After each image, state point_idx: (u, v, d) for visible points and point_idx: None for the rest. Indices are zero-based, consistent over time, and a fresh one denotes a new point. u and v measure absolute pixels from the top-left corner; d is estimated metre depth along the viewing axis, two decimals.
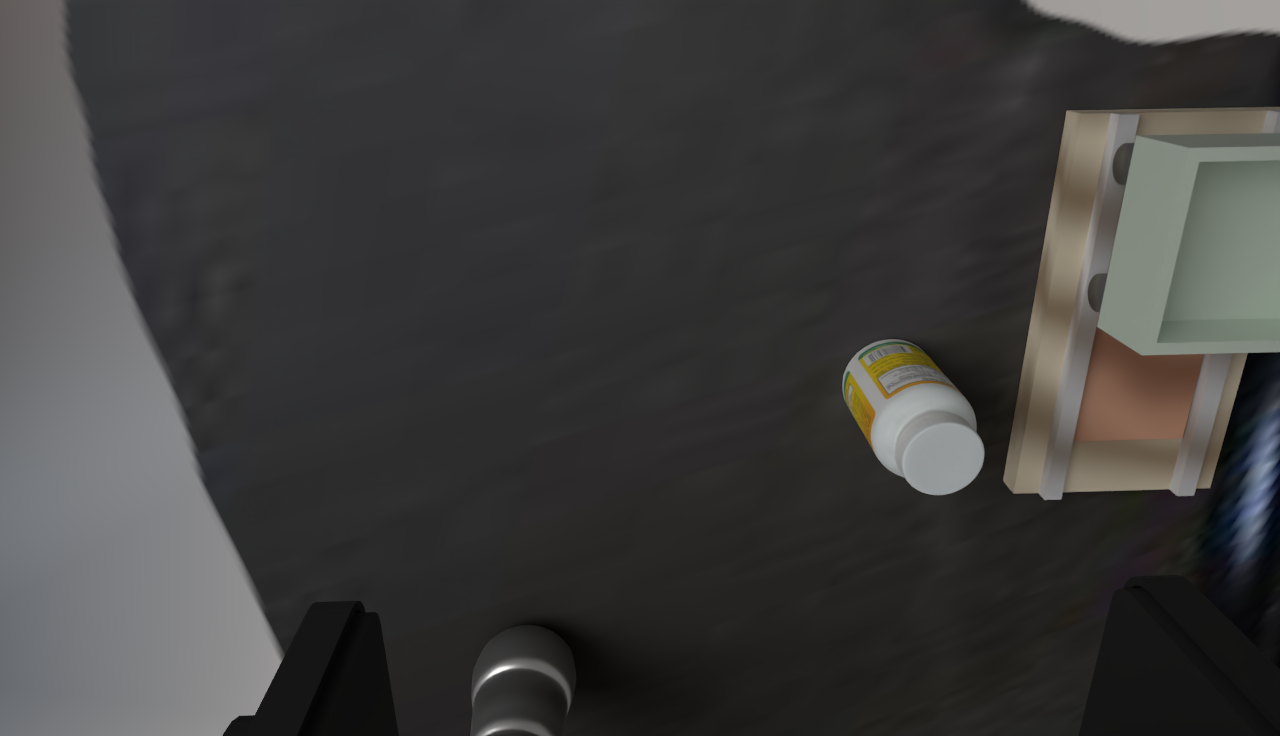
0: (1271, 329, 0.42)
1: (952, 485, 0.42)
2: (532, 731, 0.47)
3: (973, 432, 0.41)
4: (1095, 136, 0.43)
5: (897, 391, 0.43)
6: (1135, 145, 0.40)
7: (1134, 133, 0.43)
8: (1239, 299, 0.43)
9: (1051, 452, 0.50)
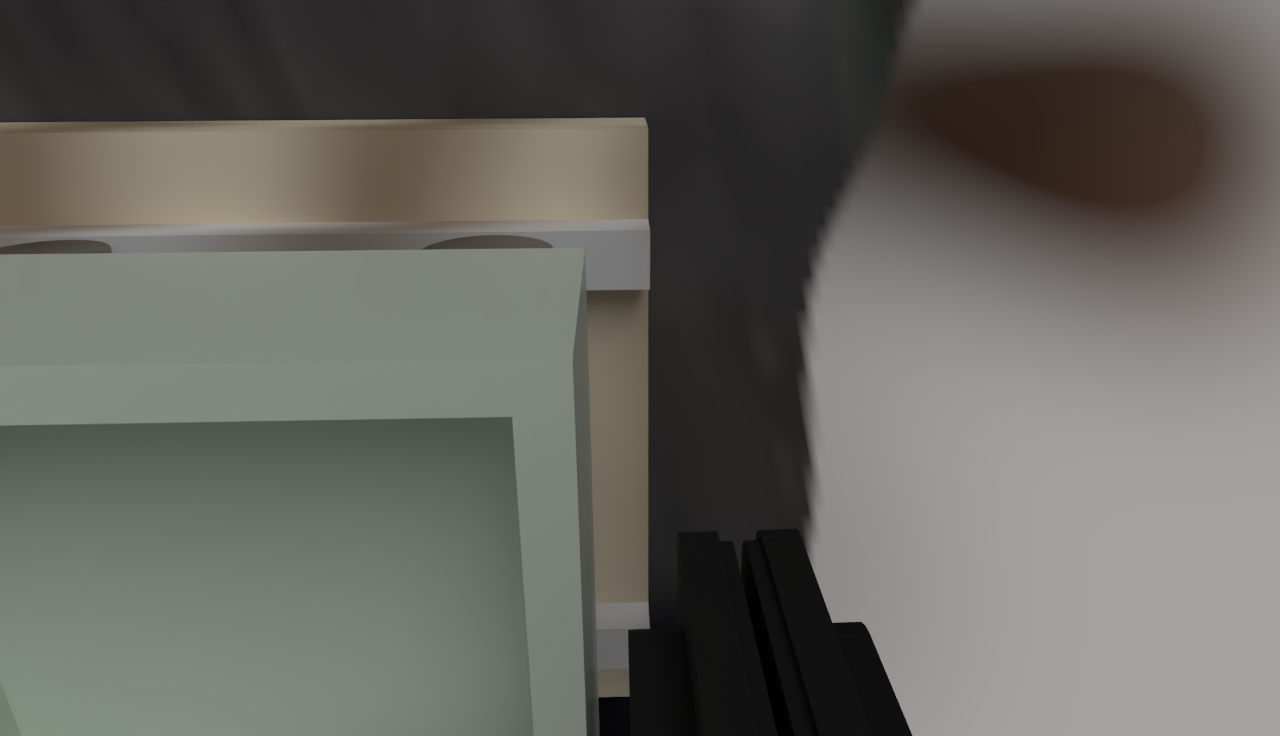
0: None
1: None
2: None
3: None
4: (580, 186, 0.14)
5: None
6: (551, 250, 0.12)
7: (595, 286, 0.14)
8: (69, 680, 0.13)
9: None
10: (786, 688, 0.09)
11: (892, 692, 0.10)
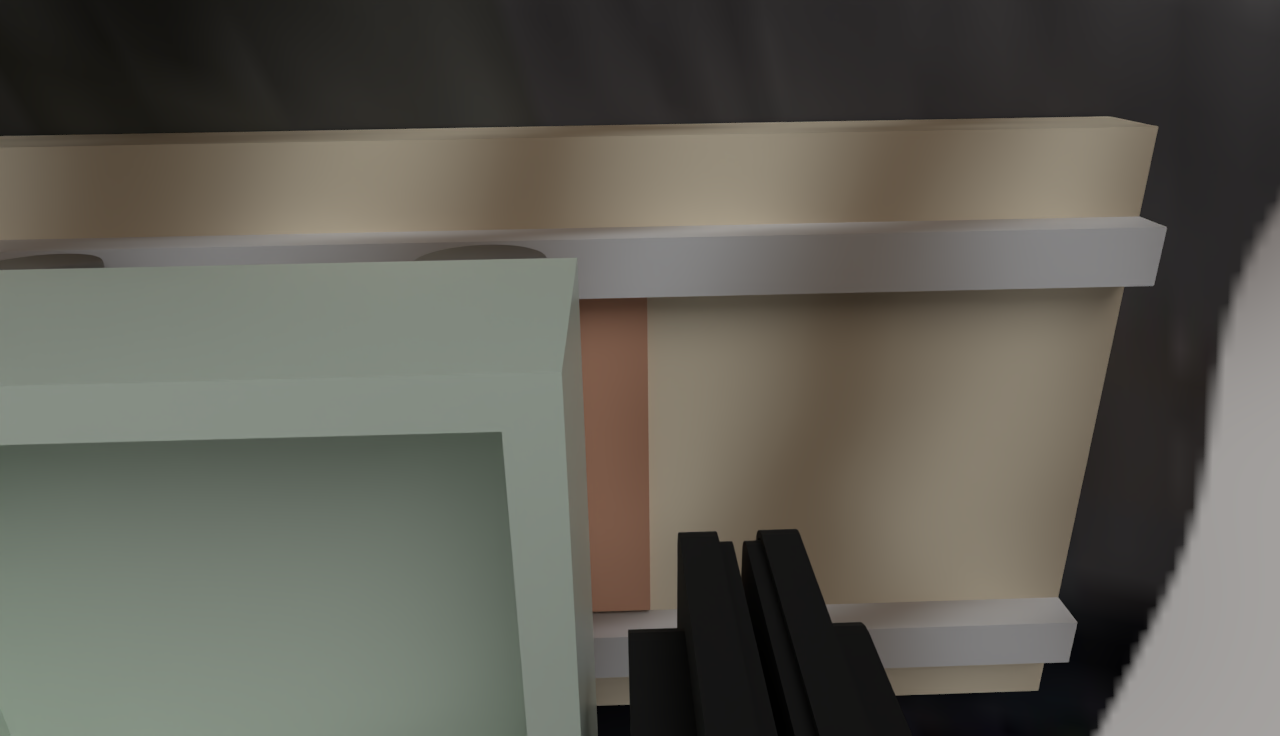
0: None
1: None
2: None
3: None
4: (1080, 184, 0.14)
5: None
6: (543, 260, 0.11)
7: (1101, 283, 0.14)
8: (65, 695, 0.13)
9: None
10: (786, 688, 0.09)
11: (892, 692, 0.10)
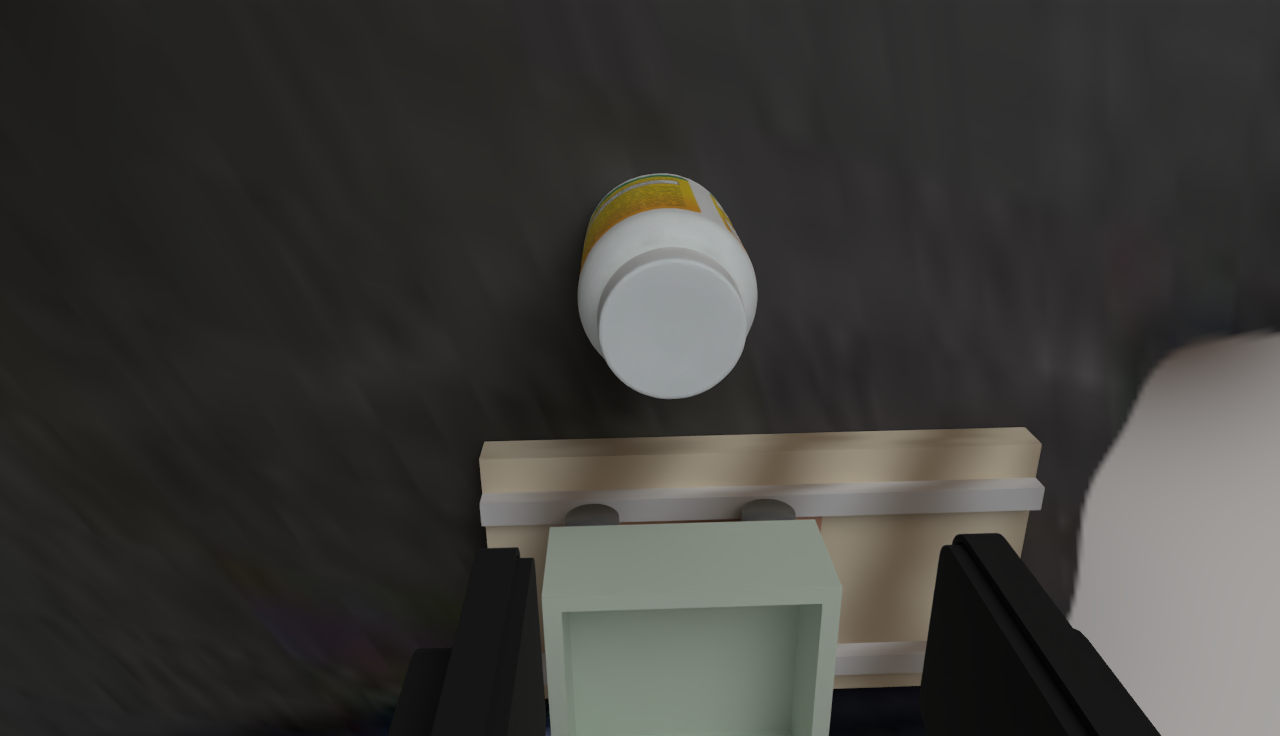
0: (572, 731, 0.31)
1: (619, 354, 0.23)
2: None
3: (726, 373, 0.23)
4: (1009, 465, 0.34)
5: (742, 245, 0.25)
6: (803, 521, 0.31)
7: (1018, 509, 0.34)
8: (600, 683, 0.32)
9: (558, 498, 0.33)
10: (1048, 696, 0.09)
11: (1131, 700, 0.09)
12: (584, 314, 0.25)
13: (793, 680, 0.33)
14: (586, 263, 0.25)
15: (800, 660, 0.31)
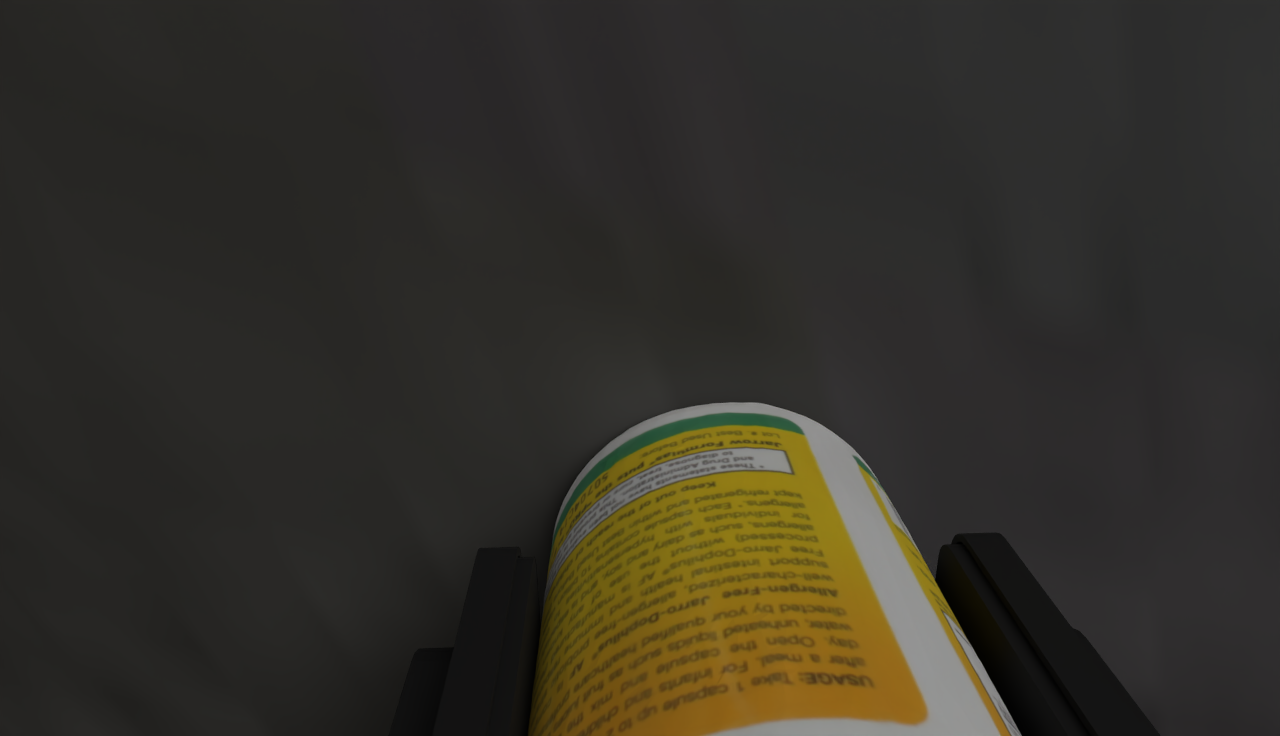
0: None
1: None
2: None
3: None
4: None
5: None
6: None
7: None
8: None
9: None
10: (1047, 696, 0.09)
11: (1130, 699, 0.09)
12: None
13: None
14: None
15: None
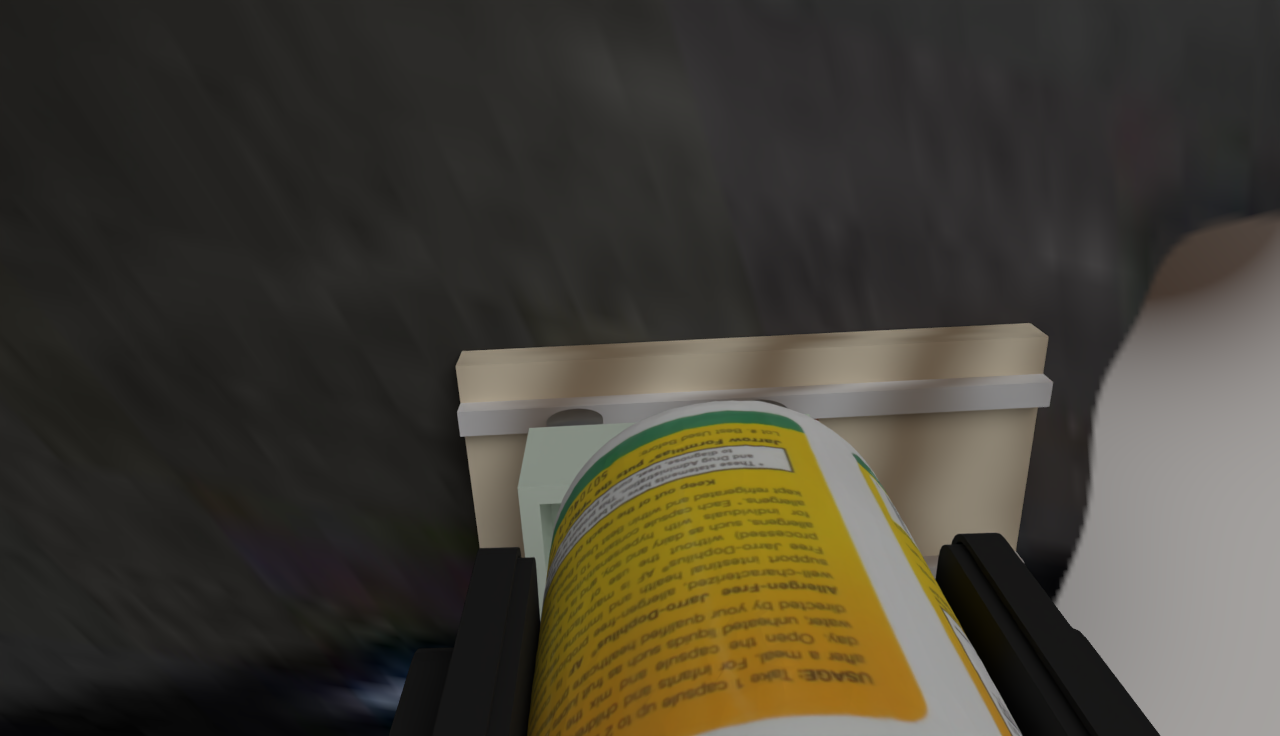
0: None
1: None
2: None
3: None
4: (1015, 361, 0.32)
5: None
6: None
7: (1025, 406, 0.32)
8: None
9: (540, 405, 0.32)
10: (1047, 696, 0.09)
11: (1130, 699, 0.09)
12: None
13: None
14: None
15: None
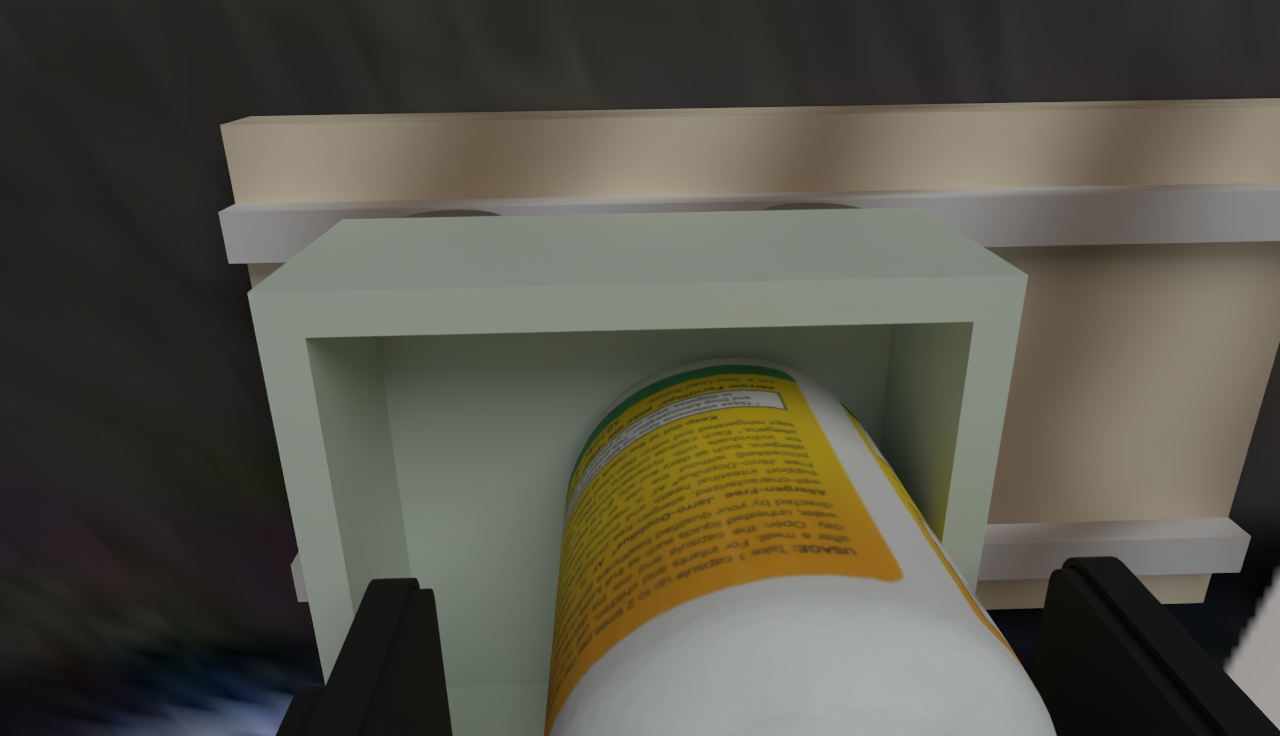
0: None
1: None
2: None
3: None
4: (1279, 154, 0.17)
5: (1018, 660, 0.09)
6: (895, 209, 0.14)
7: None
8: (467, 574, 0.16)
9: (383, 207, 0.16)
10: None
11: None
12: None
13: None
14: None
15: None
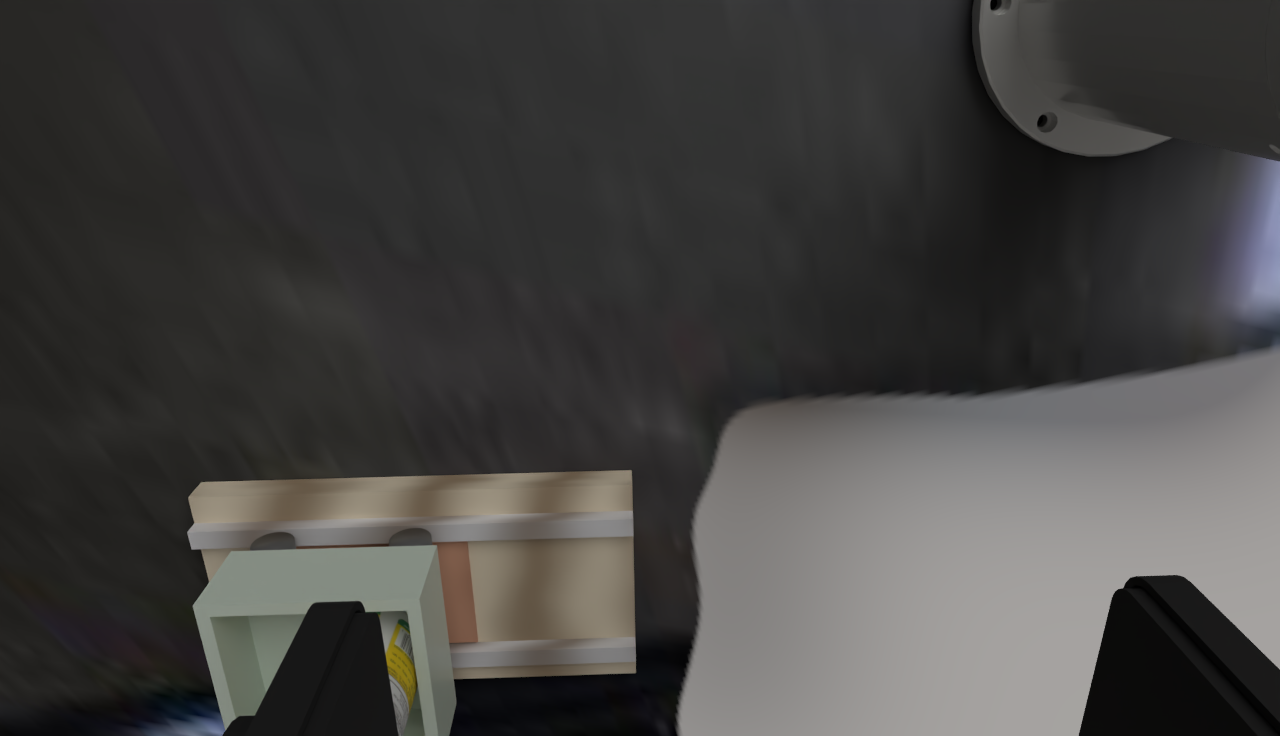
0: (251, 708, 0.40)
1: None
2: None
3: None
4: (610, 501, 0.43)
5: None
6: (426, 546, 0.40)
7: (615, 535, 0.43)
8: None
9: (251, 527, 0.42)
10: None
11: None
12: None
13: None
14: None
15: None
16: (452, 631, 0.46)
